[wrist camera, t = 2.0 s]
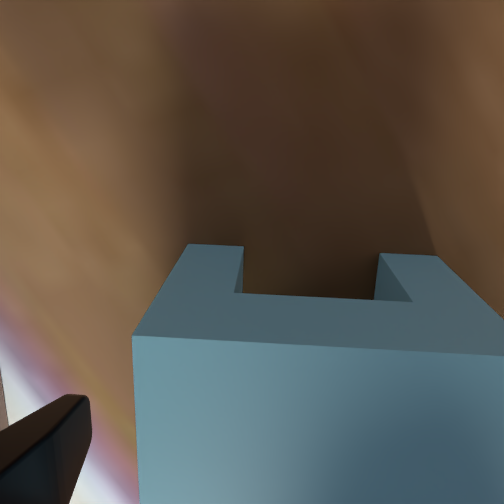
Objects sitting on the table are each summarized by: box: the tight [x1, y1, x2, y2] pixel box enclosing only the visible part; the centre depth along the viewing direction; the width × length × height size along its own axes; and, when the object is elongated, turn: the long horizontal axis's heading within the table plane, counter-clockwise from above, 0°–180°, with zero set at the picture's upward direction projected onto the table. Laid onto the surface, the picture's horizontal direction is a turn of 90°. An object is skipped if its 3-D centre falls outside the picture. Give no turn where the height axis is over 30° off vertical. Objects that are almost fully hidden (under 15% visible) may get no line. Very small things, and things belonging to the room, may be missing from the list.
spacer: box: [132, 244, 504, 504], centre depth 11 cm, size 7×4×5 cm, turn 88°
